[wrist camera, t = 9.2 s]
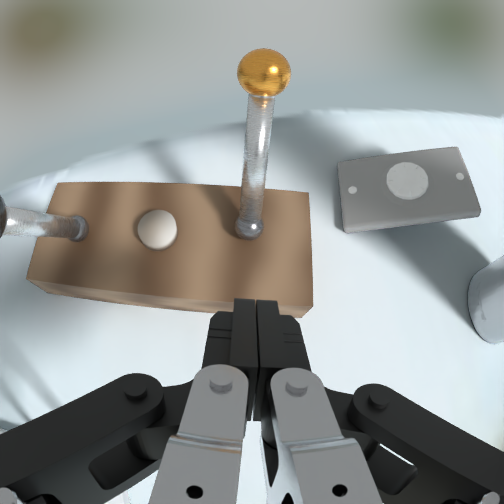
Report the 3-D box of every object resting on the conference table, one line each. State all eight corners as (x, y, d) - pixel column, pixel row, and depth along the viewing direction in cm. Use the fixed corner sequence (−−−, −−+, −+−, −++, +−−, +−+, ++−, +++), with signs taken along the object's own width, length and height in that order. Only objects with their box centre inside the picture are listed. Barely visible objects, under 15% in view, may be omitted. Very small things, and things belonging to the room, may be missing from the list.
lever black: (100, 211, 23) (-18, 180, 9) (97, 249, 23) (-25, 252, 9) (69, 210, 23) (-50, 184, 9) (66, 247, 23) (-56, 247, 9)
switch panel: (299, 212, 30) (311, 180, 25) (301, 317, 26) (317, 302, 21) (74, 201, 29) (54, 172, 24) (47, 292, 24) (18, 273, 20)
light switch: (334, 156, 31) (458, 140, 25) (344, 187, 36) (454, 173, 30) (341, 224, 28) (484, 206, 22) (350, 250, 33) (472, 234, 27)
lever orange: (268, 227, 25) (290, 51, 16) (269, 252, 22) (297, 52, 14) (228, 224, 25) (240, 46, 16) (225, 249, 22) (237, 46, 14)
